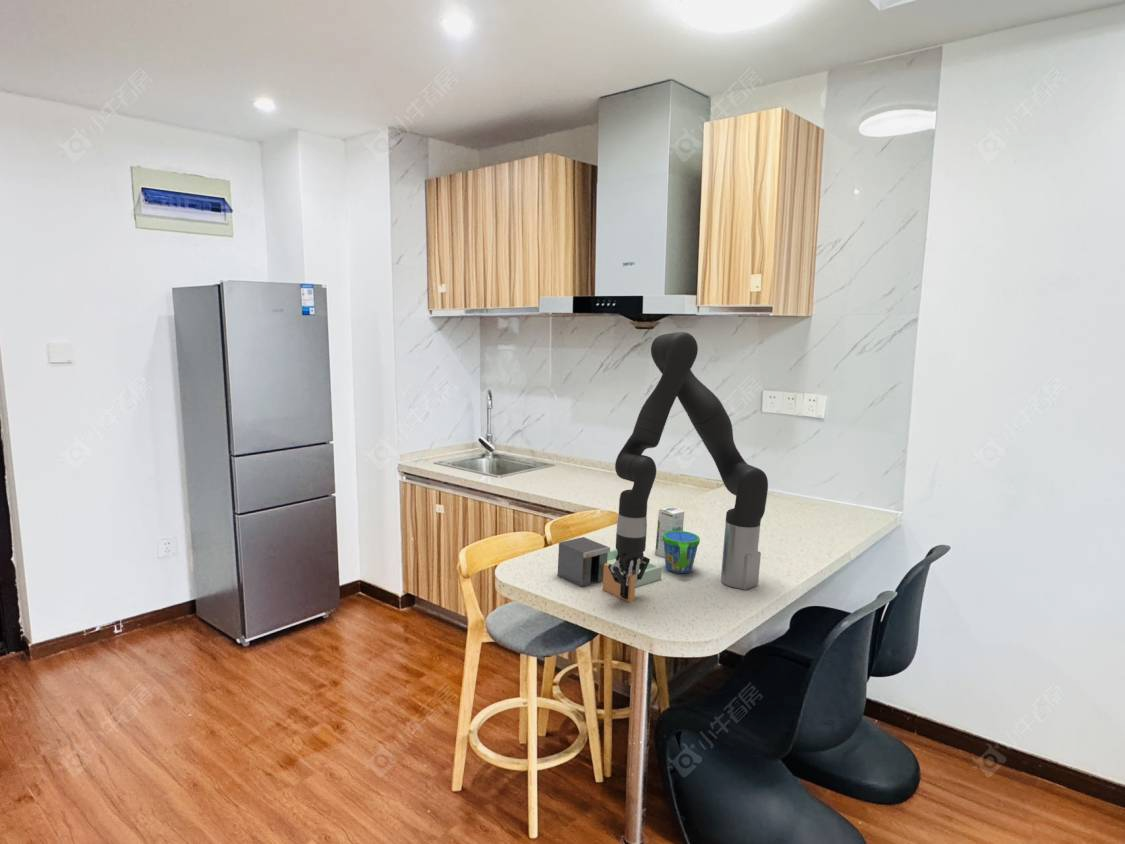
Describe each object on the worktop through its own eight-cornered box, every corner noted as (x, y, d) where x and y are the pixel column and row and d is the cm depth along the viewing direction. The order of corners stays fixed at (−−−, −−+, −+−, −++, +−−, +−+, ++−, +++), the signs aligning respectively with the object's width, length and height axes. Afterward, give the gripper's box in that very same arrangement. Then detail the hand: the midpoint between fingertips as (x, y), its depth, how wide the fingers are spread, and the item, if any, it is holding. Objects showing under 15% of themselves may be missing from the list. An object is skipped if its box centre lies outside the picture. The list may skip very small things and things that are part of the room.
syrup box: (665, 550, 209) (669, 505, 207) (681, 556, 205) (684, 510, 203) (654, 554, 205) (657, 508, 203) (670, 559, 201) (673, 513, 199)
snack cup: (698, 581, 185) (700, 546, 183) (659, 577, 187) (662, 542, 185) (696, 562, 200) (699, 529, 199) (661, 558, 202) (663, 526, 200)
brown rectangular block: (634, 600, 170) (635, 574, 169) (629, 602, 169) (631, 575, 168) (606, 588, 177) (608, 562, 176) (602, 589, 176) (603, 563, 175)
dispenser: (608, 581, 182) (610, 547, 181) (583, 588, 176) (585, 553, 175) (581, 569, 190) (583, 536, 189) (557, 575, 184) (559, 542, 183)
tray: (661, 579, 185) (661, 566, 185) (631, 588, 178) (631, 575, 177) (615, 560, 199) (615, 548, 198) (585, 568, 191) (586, 556, 191)
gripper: (623, 540, 161) (618, 608, 163) (660, 531, 170) (656, 596, 172) (601, 532, 166) (597, 598, 169) (639, 523, 175) (634, 586, 178)
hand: (627, 597), depth 170 cm, fingers closed on brown rectangular block, 1 cm apart
